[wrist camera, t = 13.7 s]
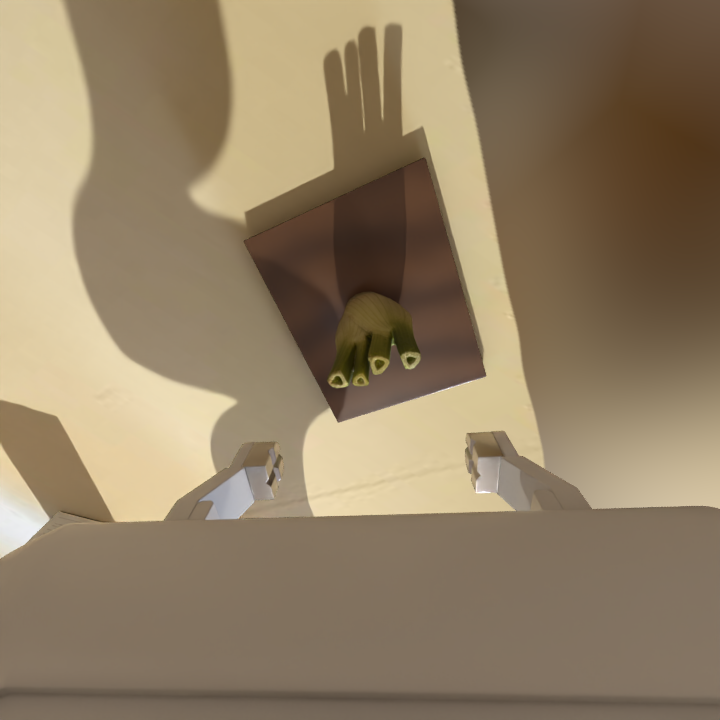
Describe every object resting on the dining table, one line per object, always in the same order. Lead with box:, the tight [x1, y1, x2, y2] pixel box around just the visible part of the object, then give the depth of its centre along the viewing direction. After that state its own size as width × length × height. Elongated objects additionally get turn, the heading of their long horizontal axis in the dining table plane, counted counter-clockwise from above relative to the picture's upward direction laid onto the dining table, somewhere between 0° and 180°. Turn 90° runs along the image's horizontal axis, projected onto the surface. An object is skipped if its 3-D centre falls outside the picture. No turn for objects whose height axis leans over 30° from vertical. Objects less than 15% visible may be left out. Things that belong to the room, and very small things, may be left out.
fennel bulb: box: [327, 292, 421, 388], centre depth 25 cm, size 6×5×12 cm
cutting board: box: [244, 158, 486, 423], centre depth 31 cm, size 20×16×2 cm
